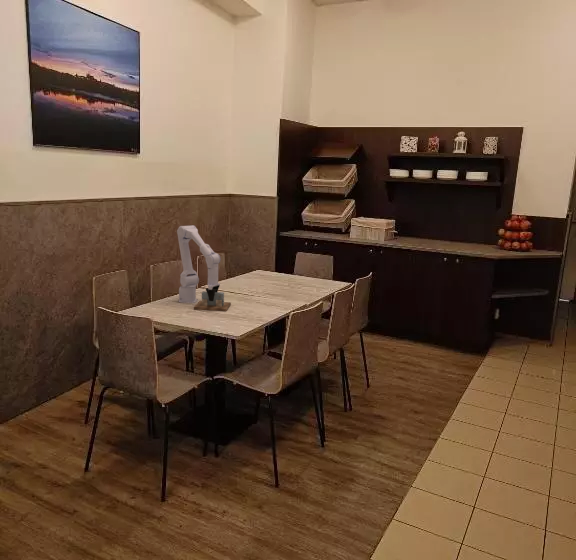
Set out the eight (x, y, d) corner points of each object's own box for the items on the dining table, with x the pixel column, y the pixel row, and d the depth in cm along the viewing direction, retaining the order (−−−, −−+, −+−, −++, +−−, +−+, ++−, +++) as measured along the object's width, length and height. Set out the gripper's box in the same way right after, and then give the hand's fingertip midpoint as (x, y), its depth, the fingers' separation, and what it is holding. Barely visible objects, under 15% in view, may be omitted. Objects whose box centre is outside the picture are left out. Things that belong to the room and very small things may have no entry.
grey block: (201, 305, 281) (201, 292, 279) (202, 303, 285) (202, 291, 283) (222, 306, 280) (222, 293, 279) (223, 304, 284) (224, 292, 283)
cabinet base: (193, 309, 277) (193, 300, 276) (199, 303, 290) (199, 294, 289) (226, 311, 276) (226, 302, 275) (230, 305, 289) (230, 296, 288)
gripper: (217, 278, 272) (217, 302, 275) (222, 273, 286) (222, 296, 289) (204, 277, 272) (204, 302, 275) (210, 272, 287) (210, 296, 289)
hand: (212, 299), depth 282 cm, fingers open, 7 cm apart
